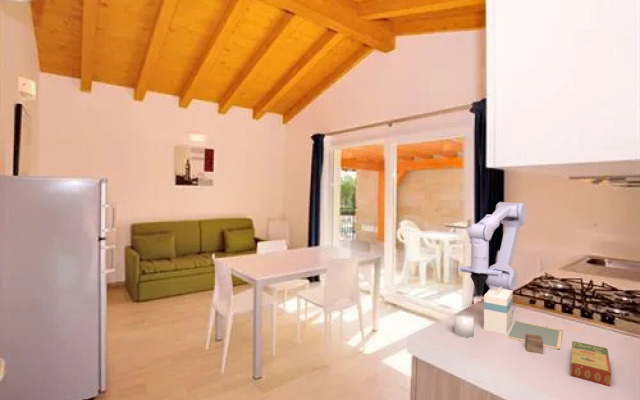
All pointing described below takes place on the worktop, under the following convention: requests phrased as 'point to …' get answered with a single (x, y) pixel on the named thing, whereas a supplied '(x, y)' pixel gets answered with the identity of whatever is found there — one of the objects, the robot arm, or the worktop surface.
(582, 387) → the worktop surface
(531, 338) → the walnut block
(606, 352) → the carton
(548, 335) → the display mat
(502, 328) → the milk carton
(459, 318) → the white glossy dome
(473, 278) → the robot arm
